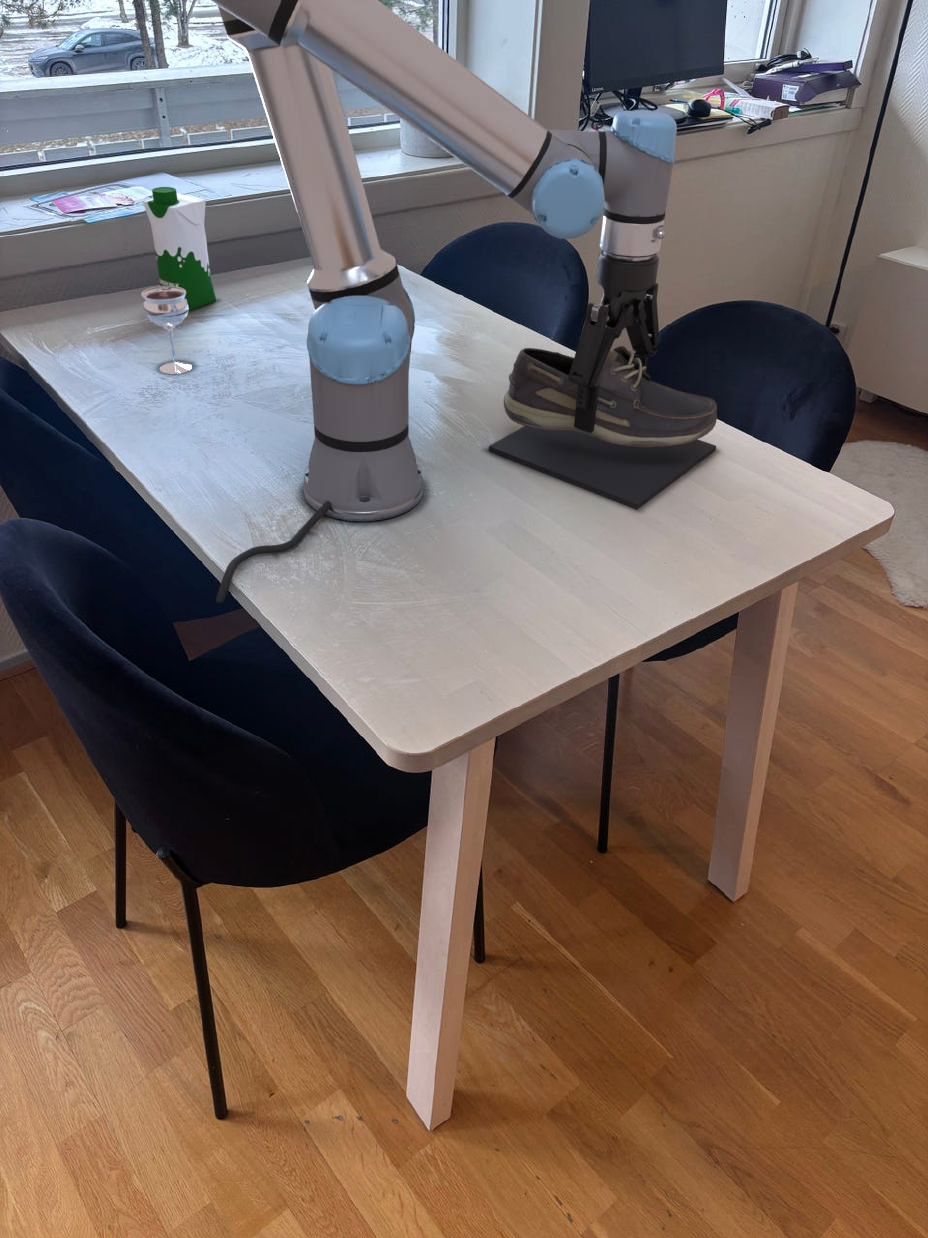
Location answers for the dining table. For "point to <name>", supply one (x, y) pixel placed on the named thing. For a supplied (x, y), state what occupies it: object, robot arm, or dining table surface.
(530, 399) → the boat shoe
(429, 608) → the dining table surface
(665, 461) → the boot mat
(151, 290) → the wineglass
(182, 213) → the milk carton
